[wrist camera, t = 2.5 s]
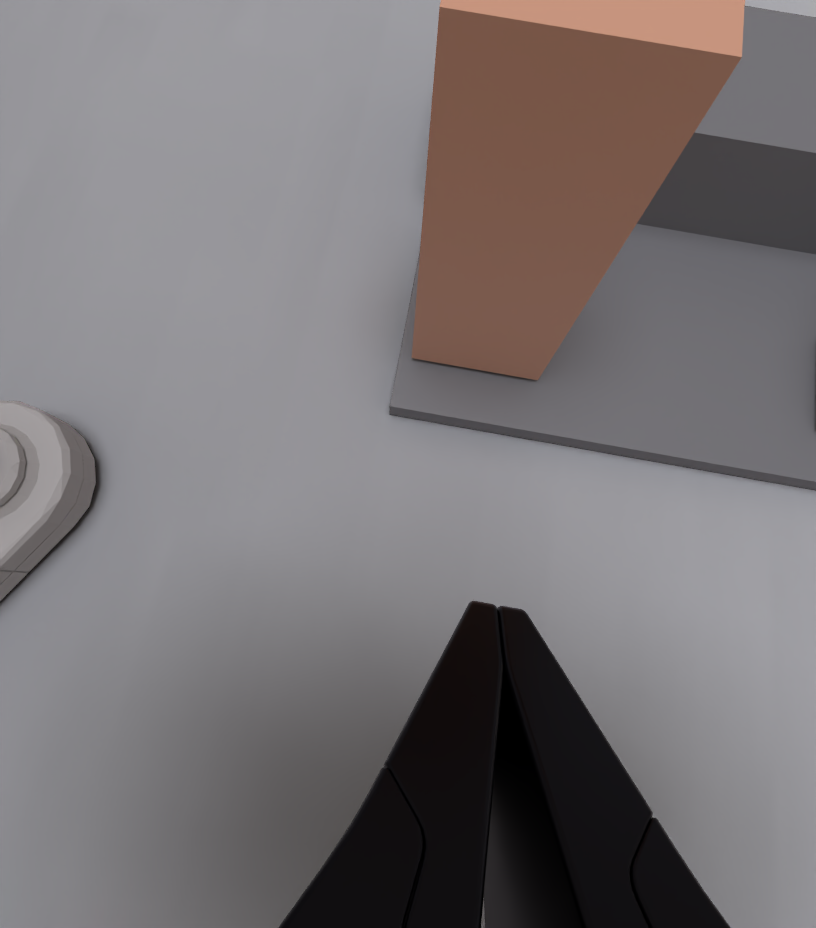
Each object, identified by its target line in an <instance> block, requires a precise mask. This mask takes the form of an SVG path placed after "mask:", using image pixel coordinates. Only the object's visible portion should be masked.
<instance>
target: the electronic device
mask: <svg viewBox="0 0 816 928" xmlns="http://www.w3.org/2000/svg"><path fill="white" fill-rule="evenodd" d="M95 484H96V477H95V459H94V457H93V455H92V453H91V451H90V449H89V447H88V445H87V443H86V441H85V439H84V437H82V436H81V435H80V434H79V433H78V432H77V431H76V430H75V429H73V428H72V427H71V426H70V425H69V424H67V423H65V422H64V421H62V420H60V419H58V418H56V417H54V416H52V415H50V414H48V413H46V412H44V411H42V410H40V409H37V408H35V407H32V406H30V405H27V404H25V403H23V402H20V401H0V601H1V600H2V599H3V598H4V597H5V596H6V595H7V594H8V593H9V592H10V591H11V590H12V589H13V588H14V587H15V586H16V585H17V584H18V583H19V582H20V581H21V580H22V579H23V578H24V577H25V576H26V575H27V574H28V573H29V571H30V570H31V569H32V568H33V567H34V566H35V565H36V564H37V563H38V562H39V561H40V560H41V559H42V558H43V557H44V556H45V555H46V554H47V553H48V552H49V551H50V550H51V549H52V548H53V547H54V546H55V545H56V544H57V543H58V542H59V541H60V540H61V539H62V538H63V537H64V536H65V535H66V534H67V533H68V532H69V531H70V530H71V529H72V528H73V527H74V526H75V524H76V523H77V522H78V521H79V519H80V518H81V517H82V515H83V514H84V513H85V512H86V510H87V509H88V508H89V506H90V503H91V499H92V495H93V491H94V488H95Z"/></svg>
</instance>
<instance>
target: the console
mask: <svg viewBox="0 0 816 928" xmlns="http://www.w3.org/2000/svg"><path fill="white" fill-rule="evenodd" d="M419 259H420V253H419V258H418V263H417V268H416V274H415V279H414V284H413V289H412V294H411V299H410V304H409V309H408V314H407V320H406V325H405V330H404V335H403V340H402V345H401V350H400V355H399V360H398V366H397V371H396V376H395V381H394V386H393V391H392V396H391V401H390V415H396V416H402V417H407V418H413V419H419V420H424V421H430V422H435V423H441V424H447V425H452V426H458V427H464V428H469V429H475V430H480V431H486V432H492V433H497V434H503V435H509V436H514V437H520V438H525V439H531V440H537V441H542V442H548V443H554V444H559V445H565V446H570V447H576V448H582V449H587V450H593V451H599V452H604V453H610V454H615V455H621V456H627V457H632V458H638V459H644V460H649V461H655V462H660V463H666V464H672V465H677V466H683V467H689V468H694V469H700V470H705V471H711V472H717V473H722V474H728V475H734V476H739V477H745V478H750V479H756V480H762V481H767V482H773V483H778V484H784V485H790V486H795V487H801V488H807V489H812V490H816V17H810V16H804V15H797V14H791V13H785V12H779V11H773V10H767V9H761V8H755V7H749V6H744V26H743V45H742V58H741V59H740V61H739V63H738V64H737V66H736V67H735V69H734V70H733V72H732V74H731V75H730V77H729V78H728V80H727V82H726V83H725V85H724V86H723V88H722V89H721V91H720V93H719V94H718V96H717V97H716V99H715V101H714V102H713V104H712V105H711V107H710V108H709V110H708V112H707V113H706V115H705V116H704V118H703V120H702V121H701V123H700V124H699V126H698V127H697V129H696V131H695V132H694V134H693V135H692V137H691V139H690V140H689V142H688V143H687V145H686V146H685V148H684V150H683V151H682V153H681V154H680V156H679V158H678V159H677V161H676V162H675V164H674V165H673V167H672V169H671V170H670V172H669V173H668V175H667V177H666V178H665V180H664V181H663V183H662V184H661V186H660V188H659V189H658V191H657V192H656V194H655V196H654V197H653V199H652V200H651V202H650V203H649V205H648V207H647V208H646V210H645V211H644V213H643V215H642V216H641V218H640V219H639V221H638V222H637V224H636V226H635V227H634V229H633V230H632V232H631V234H630V235H629V237H628V238H627V240H626V241H625V243H624V245H623V246H622V248H621V249H620V251H619V253H618V254H617V256H616V257H615V259H614V260H613V262H612V264H611V265H610V267H609V268H608V270H607V272H606V273H605V275H604V276H603V278H602V279H601V281H600V283H599V284H598V286H597V287H596V289H595V291H594V292H593V294H592V295H591V297H590V298H589V300H588V302H587V303H586V305H585V306H584V308H583V310H582V311H581V313H580V314H579V316H578V317H577V319H576V321H575V322H574V324H573V325H572V327H571V329H570V330H569V332H568V333H567V335H566V336H565V338H564V340H563V341H562V343H561V344H560V346H559V348H558V349H557V351H556V352H555V354H554V355H553V357H552V359H551V360H550V362H549V363H548V365H547V367H546V368H545V370H544V371H543V373H542V374H541V376H540V378H539V379H538V380H533V379H528V378H522V377H516V376H511V375H505V374H499V373H493V372H488V371H482V370H476V369H471V368H465V367H459V366H454V365H448V364H442V363H437V362H431V361H425V360H420V359H414V358H412V346H413V333H414V321H415V308H416V296H417V283H418V271H419Z"/></svg>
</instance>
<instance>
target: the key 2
mask: <svg viewBox="0 0 816 928" xmlns="http://www.w3.org/2000/svg"><path fill="white" fill-rule="evenodd" d="M744 6H745V0H441V3H440V9H439V22H438V34H437V47H436V59H435V72H434V84H433V96H432V109H431V121H430V134H429V146H428V159H427V171H426V184H425V196H424V209H423V221H422V234H421V246H420V259H419V271H418V283H417V296H416V308H415V321H414V333H413V346H412V358H414V359H420V360H425V361H431V362H437V363H442V364H448V365H454V366H459V367H465V368H471V369H476V370H482V371H488V372H493V373H499V374H505V375H511V376H516V377H522V378H528V379H533V380H538V379H539V378H540V376H541V374H542V373H543V371H544V370H545V368H546V367H547V365H548V363H549V362H550V360H551V359H552V357H553V355H554V354H555V352H556V351H557V349H558V348H559V346H560V344H561V343H562V341H563V340H564V338H565V336H566V335H567V333H568V332H569V330H570V329H571V327H572V325H573V324H574V322H575V321H576V319H577V317H578V316H579V314H580V313H581V311H582V310H583V308H584V306H585V305H586V303H587V302H588V300H589V298H590V297H591V295H592V294H593V292H594V291H595V289H596V287H597V286H598V284H599V283H600V281H601V279H602V278H603V276H604V275H605V273H606V272H607V270H608V268H609V267H610V265H611V264H612V262H613V260H614V259H615V257H616V256H617V254H618V253H619V251H620V249H621V248H622V246H623V245H624V243H625V241H626V240H627V238H628V237H629V235H630V234H631V232H632V230H633V229H634V227H635V226H636V224H637V222H638V221H639V219H640V218H641V216H642V215H643V213H644V211H645V210H646V208H647V207H648V205H649V203H650V202H651V200H652V199H653V197H654V196H655V194H656V192H657V191H658V189H659V188H660V186H661V184H662V183H663V181H664V180H665V178H666V177H667V175H668V173H669V172H670V170H671V169H672V167H673V165H674V164H675V162H676V161H677V159H678V158H679V156H680V154H681V153H682V151H683V150H684V148H685V146H686V145H687V143H688V142H689V140H690V139H691V137H692V135H693V134H694V132H695V131H696V129H697V127H698V126H699V124H700V123H701V121H702V120H703V118H704V116H705V115H706V113H707V112H708V110H709V108H710V107H711V105H712V104H713V102H714V101H715V99H716V97H717V96H718V94H719V93H720V91H721V89H722V88H723V86H724V85H725V83H726V82H727V80H728V78H729V77H730V75H731V74H732V72H733V70H734V69H735V67H736V66H737V64H738V63H739V61H740V59H741V58H742V45H743V26H744Z"/></svg>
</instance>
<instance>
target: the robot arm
mask: <svg viewBox="0 0 816 928" xmlns="http://www.w3.org/2000/svg"><path fill="white" fill-rule="evenodd" d="M652 815H653V813H652V811H651V809H650V807H649V806H648V804H647V803H646V801H645V800H644V798H643V796H642V795H641V793H640V792H639V790H638V788H637V787H636V785H635V784H634V782H633V781H632V779H631V777H630V776H629V774H628V773H627V771H626V769H625V768H624V766H623V765H622V763H621V762H620V760H619V758H618V757H617V755H616V754H615V752H614V750H613V749H612V747H611V746H610V744H609V743H608V741H607V739H606V738H605V736H604V735H603V733H602V732H601V730H600V728H599V727H598V725H597V724H596V722H595V720H594V719H593V717H592V716H591V714H590V713H589V711H588V709H587V708H586V706H585V705H584V703H583V701H582V700H581V698H580V697H579V695H578V694H577V692H576V690H575V689H574V687H573V686H572V684H571V683H570V681H569V679H568V678H567V676H566V675H565V673H564V671H563V670H562V668H561V667H560V665H559V664H558V662H557V660H556V659H555V657H554V656H553V654H552V652H551V651H550V649H549V648H548V646H547V645H546V643H545V641H544V640H543V638H542V637H541V635H540V633H539V632H538V630H537V629H536V627H535V626H534V624H533V622H532V621H531V619H530V618H529V616H528V615H527V613H526V612H525V611H524V610H521V609H516V608H511V607H505V606H500V607H498V608H497V607H496V606H495V605H493V604H489V603H483V602H478V601H471V602H470V603H469V604H468V606H467V608H466V610H465V612H464V614H463V616H462V618H461V620H460V621H459V623H458V625H457V627H456V629H455V631H454V633H453V635H452V637H451V638H450V640H449V642H448V644H447V646H446V648H445V650H444V652H443V654H442V656H441V657H440V659H439V661H438V663H437V665H436V667H435V669H434V671H433V673H432V675H431V676H430V678H429V680H428V682H427V684H426V686H425V688H424V690H423V692H422V694H421V695H420V697H419V699H418V701H417V703H416V705H415V707H414V709H413V711H412V712H411V714H410V716H409V718H408V720H407V722H406V724H405V726H404V728H403V730H402V731H401V733H400V735H399V737H398V739H397V741H396V743H395V745H394V747H393V749H392V750H391V752H390V754H389V756H388V758H387V760H386V762H385V764H384V768H382V769H381V771H380V772H379V774H378V776H377V778H376V780H375V782H374V784H373V786H372V788H371V790H370V791H369V793H368V795H367V797H366V798H365V800H364V802H363V804H362V805H361V807H360V809H359V811H358V812H357V814H356V816H355V818H354V819H353V821H352V823H351V825H350V826H349V828H348V829H347V831H346V832H345V834H344V835H343V837H342V838H341V840H340V841H339V843H338V844H337V846H336V847H335V849H334V850H333V852H332V853H331V855H330V856H329V858H328V859H327V861H326V862H325V864H324V865H323V867H322V868H321V869H320V871H319V872H318V873H317V875H316V876H315V878H314V879H313V880H312V882H311V883H310V885H309V886H308V887H307V889H306V890H305V892H304V893H303V894H302V896H301V897H300V899H299V900H298V901H297V903H296V904H295V905H294V907H293V908H292V910H291V911H290V912H289V914H288V915H287V917H286V918H285V919H284V921H283V922H282V924H281V925H280V926H279V928H481V918H482V907H483V896H484V910H485V928H730V926H729V925H728V923H727V922H726V921H725V919H724V918H723V917H722V915H721V914H720V912H719V911H718V910H717V908H716V907H715V905H714V904H713V903H712V901H711V900H710V899H709V897H708V896H707V894H706V893H705V892H704V890H703V889H702V887H701V886H700V884H699V883H698V881H697V880H696V878H695V877H694V875H693V874H692V872H691V871H690V869H689V868H688V866H687V865H686V863H685V862H684V860H683V859H682V857H681V856H680V854H679V853H678V851H677V850H676V848H675V846H674V845H673V843H672V842H671V840H670V839H669V837H668V835H667V834H666V832H665V831H664V829H663V828H662V826H661V824H660V823H659V821H658V820H657V819H656V818H652Z"/></svg>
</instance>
